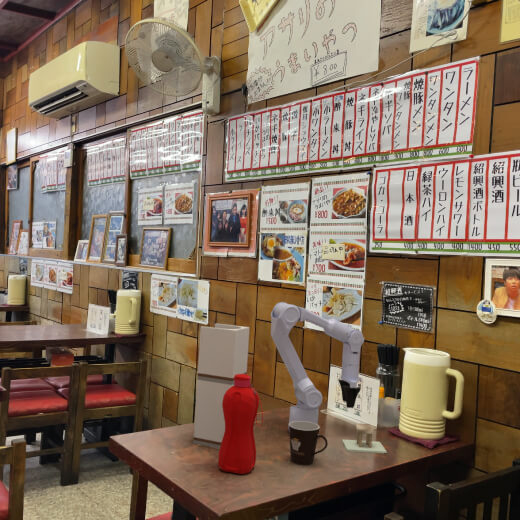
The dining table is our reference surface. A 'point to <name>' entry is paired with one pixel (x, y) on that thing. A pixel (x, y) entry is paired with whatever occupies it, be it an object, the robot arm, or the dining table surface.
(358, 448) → the rubber mat
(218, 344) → the grey tall box
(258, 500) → the dining table surface
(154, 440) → the dining table surface
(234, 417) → the water bottle
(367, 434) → the wooden stool
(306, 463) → the coffee mug
